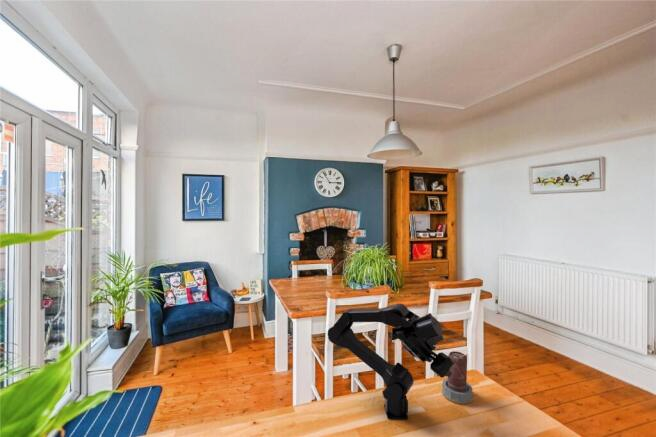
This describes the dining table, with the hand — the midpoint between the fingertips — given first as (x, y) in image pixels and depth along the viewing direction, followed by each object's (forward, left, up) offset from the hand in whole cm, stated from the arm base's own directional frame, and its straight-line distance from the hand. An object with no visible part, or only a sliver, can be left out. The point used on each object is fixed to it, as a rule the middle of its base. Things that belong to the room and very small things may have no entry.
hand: (440, 368), depth 99 cm
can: (+8, +6, -13) cm, 17 cm away
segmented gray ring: (+9, +7, -14) cm, 17 cm away
